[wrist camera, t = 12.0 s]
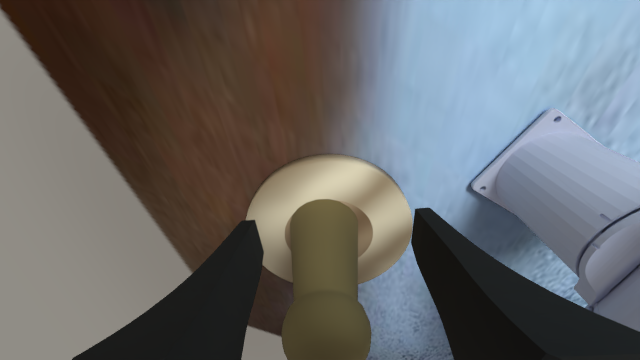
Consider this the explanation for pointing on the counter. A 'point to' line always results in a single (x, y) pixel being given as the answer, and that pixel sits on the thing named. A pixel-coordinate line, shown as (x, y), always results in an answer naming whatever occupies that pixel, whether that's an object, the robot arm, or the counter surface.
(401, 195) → the birch stand
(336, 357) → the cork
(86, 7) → the counter surface
